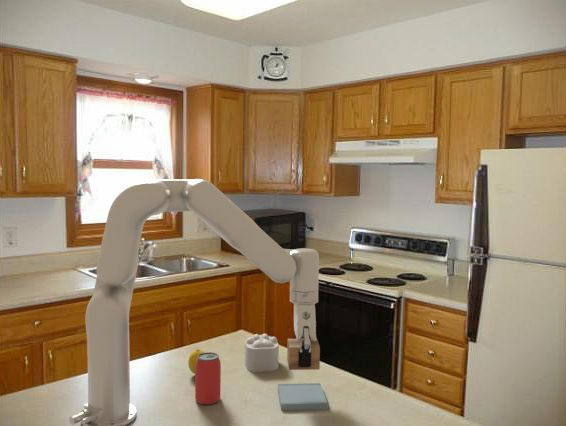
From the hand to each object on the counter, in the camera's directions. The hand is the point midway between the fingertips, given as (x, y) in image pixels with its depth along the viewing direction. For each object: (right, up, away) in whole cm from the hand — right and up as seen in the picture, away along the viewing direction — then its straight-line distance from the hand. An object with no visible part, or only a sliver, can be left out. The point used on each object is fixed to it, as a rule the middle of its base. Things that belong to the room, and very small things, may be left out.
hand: (302, 360), depth 129 cm
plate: (0, -10, +1) cm, 10 cm away
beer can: (-25, -10, -1) cm, 27 cm away
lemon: (-31, -9, +15) cm, 35 cm away
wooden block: (0, -1, 0) cm, 1 cm away
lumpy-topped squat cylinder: (-12, -9, +25) cm, 29 cm away
